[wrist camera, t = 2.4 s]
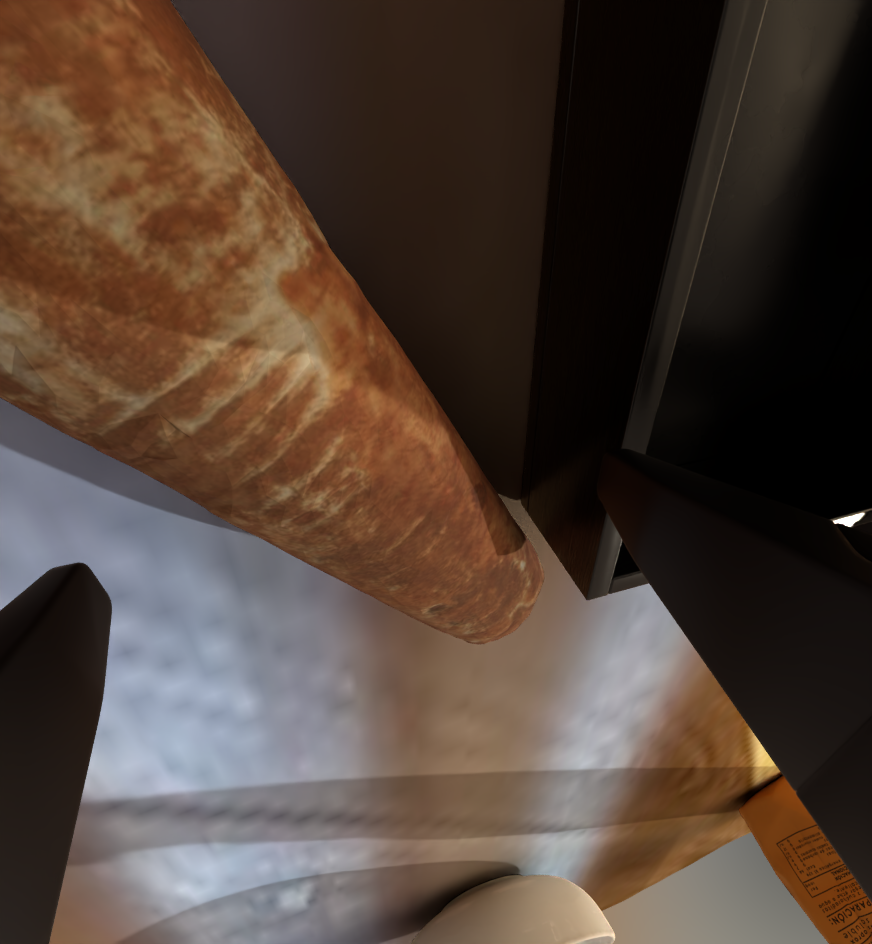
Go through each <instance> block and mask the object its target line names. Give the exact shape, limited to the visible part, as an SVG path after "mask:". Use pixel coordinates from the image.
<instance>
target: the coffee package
mask: <svg viewBox="0 0 872 944" xmlns="http://www.w3.org/2000/svg"><path fill="white" fill-rule="evenodd" d="M739 812H740V814H741V815H742V817H743V818H744V820H745V822H746V824H747V825H748V827H749V829H750V830H751V832H752V834H753V835H754V837H755V839H756V840H757V842H758V844H759V846H760V847H761V849H762V851H763V853H764V855H765V856H766V858H767V860H768V861H769V863H770V864H771V866H772V868H773V870H774V871H775V873H776V875H777V876H778V877H779V879H780V880H781V881H782V883H783V884H784V885H785V887H786V888H787V890H788V891H789V892H790V894H791V895H792V896H793V897H794V899H795V900H796V901H797V902H798V904H799V905H800V906H801V908H802V909H803V910H804V912H805V913H806V914H807V916H808V917H809V918H810V920H811V921H812V922H813V923H814V925H815V926H816V928H817V929H818V930H819V932H820V933H821V934H822V935H823V936H824V938H825V939H826V941H827V942H828V943H829V944H872V903H871V901H870V900H869V898H868V897H867V896H866V894H865V893H864V891H863V890H862V888H861V887H860V886H859V884H858V883H857V881H856V880H855V878H854V877H853V875H852V874H851V873H850V871H849V870H848V868H847V867H846V865H845V864H844V863H843V861H842V860H841V858H840V857H839V855H838V854H837V853H836V851H835V850H834V848H833V847H832V845H831V844H830V843H829V841H828V840H827V838H826V837H825V835H824V834H823V832H822V831H821V830H820V828H819V827H818V825H817V824H816V822H815V821H814V820H813V818H812V817H811V815H810V814H809V812H808V811H807V810H806V808H805V807H804V805H803V804H802V802H801V801H800V799H799V798H798V797H797V795H796V791H794V790H793V789H792V787H791V786H790V785H789V783H788V782H787V780H786V779H785V777H784V776H781V777H780V778H779V779H777V780H775V781H774V782H772V783H771V784H769V785H768V786H767V787H765V788H763V789H762V790H760V791H759V792H758V793H756V794H755V795H754V796H753V797H751V798H750V799H749V800H748V801H747V802H746V803H745V804H744V805H743V806H742V807H741V808H739Z"/></svg>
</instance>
